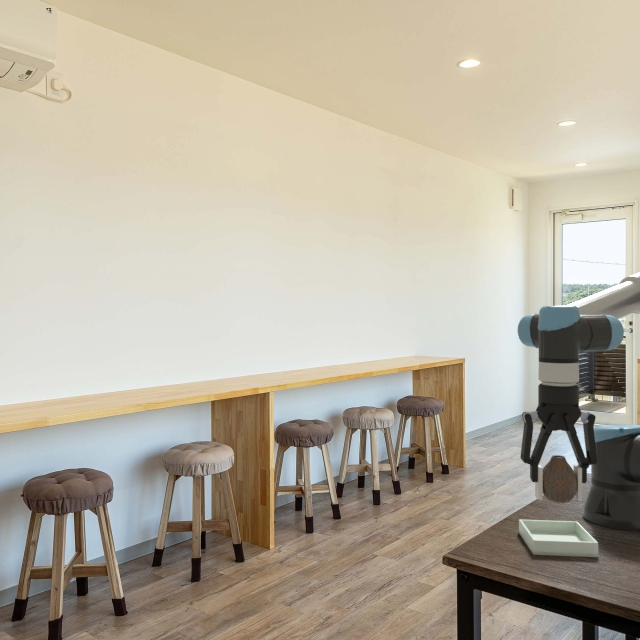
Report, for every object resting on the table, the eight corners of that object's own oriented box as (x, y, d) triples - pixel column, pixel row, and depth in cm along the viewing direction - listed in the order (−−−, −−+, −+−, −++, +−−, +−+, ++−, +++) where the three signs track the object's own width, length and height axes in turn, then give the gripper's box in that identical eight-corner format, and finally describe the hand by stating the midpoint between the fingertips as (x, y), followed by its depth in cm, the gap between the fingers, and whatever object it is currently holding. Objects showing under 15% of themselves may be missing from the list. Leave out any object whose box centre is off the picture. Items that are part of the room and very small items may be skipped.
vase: (580, 506, 119) (580, 461, 118) (543, 504, 120) (543, 460, 120) (572, 495, 125) (572, 452, 125) (537, 494, 127) (537, 451, 126)
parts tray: (577, 534, 140) (577, 521, 140) (597, 557, 127) (598, 542, 127) (518, 532, 141) (518, 519, 141) (533, 554, 128) (533, 540, 128)
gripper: (602, 381, 125) (602, 493, 125) (503, 380, 127) (503, 491, 127) (617, 385, 118) (617, 505, 118) (511, 385, 119) (511, 503, 120)
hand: (558, 498), depth 123 cm, fingers closed on vase, 7 cm apart
